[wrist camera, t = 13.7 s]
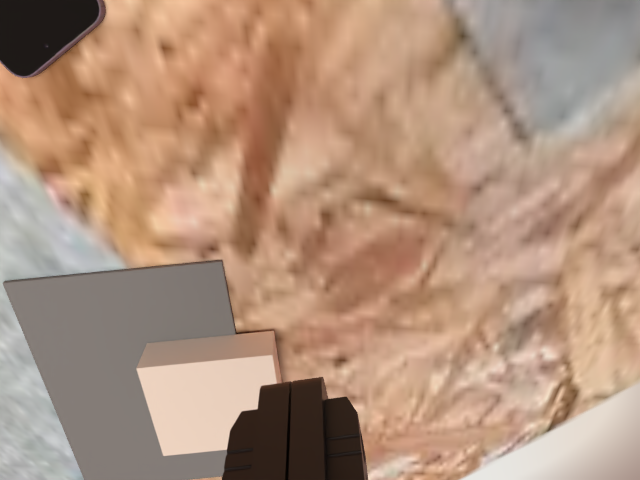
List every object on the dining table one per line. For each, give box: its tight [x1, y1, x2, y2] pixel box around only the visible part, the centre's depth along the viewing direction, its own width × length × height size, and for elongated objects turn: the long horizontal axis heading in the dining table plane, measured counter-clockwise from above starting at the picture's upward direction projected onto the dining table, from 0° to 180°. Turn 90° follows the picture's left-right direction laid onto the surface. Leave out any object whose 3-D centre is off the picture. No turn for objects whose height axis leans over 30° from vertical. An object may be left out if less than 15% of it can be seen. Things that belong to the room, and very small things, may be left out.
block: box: [136, 331, 282, 456], centre depth 40 cm, size 3×9×10 cm
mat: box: [3, 260, 236, 480], centre depth 42 cm, size 16×22×1 cm
